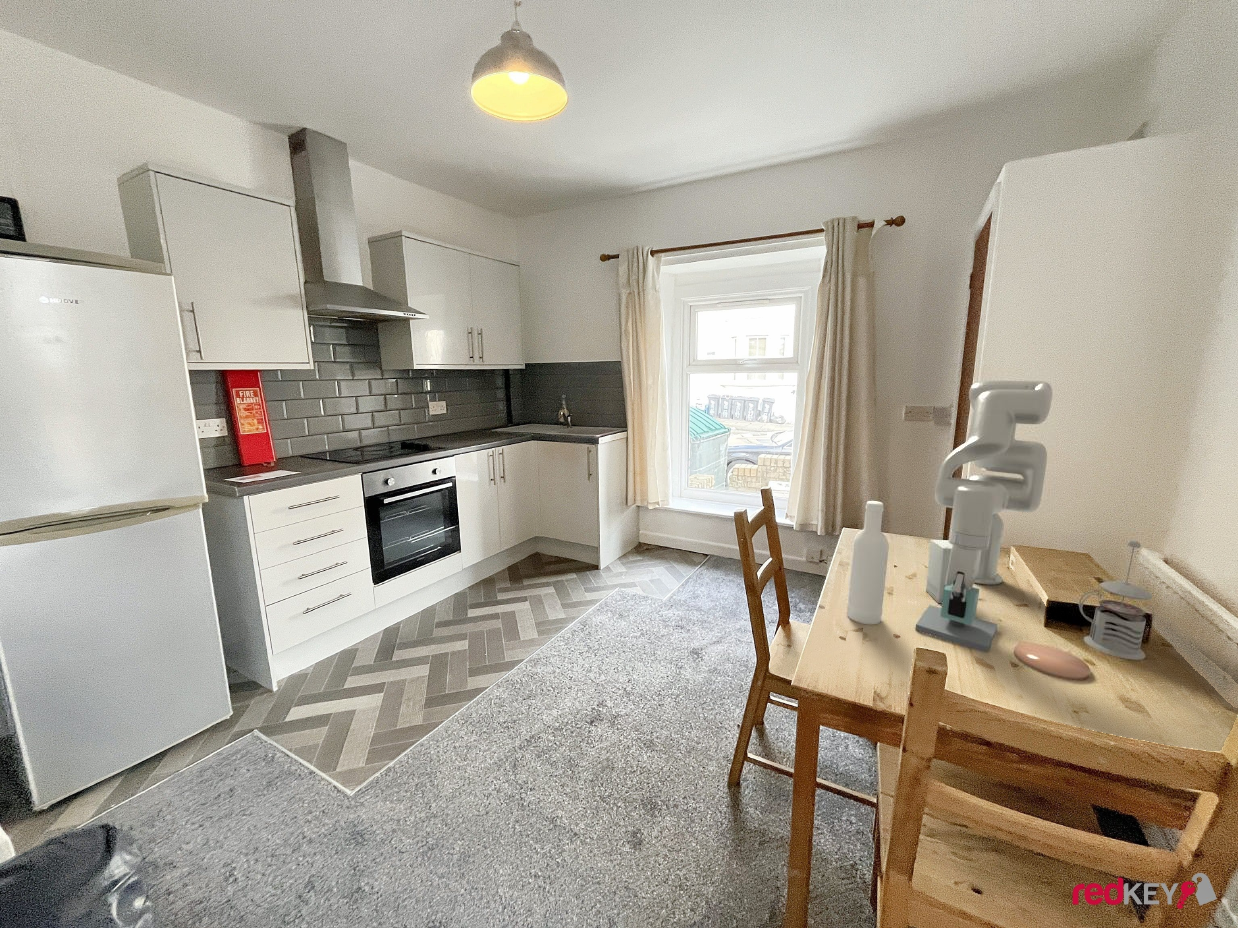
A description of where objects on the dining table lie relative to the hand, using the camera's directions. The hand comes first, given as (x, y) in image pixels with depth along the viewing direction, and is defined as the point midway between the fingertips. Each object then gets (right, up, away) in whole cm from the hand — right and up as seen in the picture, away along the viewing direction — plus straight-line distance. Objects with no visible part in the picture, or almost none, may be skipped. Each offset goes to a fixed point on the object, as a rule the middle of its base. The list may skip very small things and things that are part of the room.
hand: (958, 610), depth 113 cm
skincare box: (+8, -2, +18) cm, 20 cm away
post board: (0, -5, +1) cm, 5 cm away
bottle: (-19, -4, +7) cm, 21 cm away
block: (0, -2, 0) cm, 2 cm away
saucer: (+11, -7, -12) cm, 18 cm away
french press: (+30, -6, -6) cm, 31 cm away
